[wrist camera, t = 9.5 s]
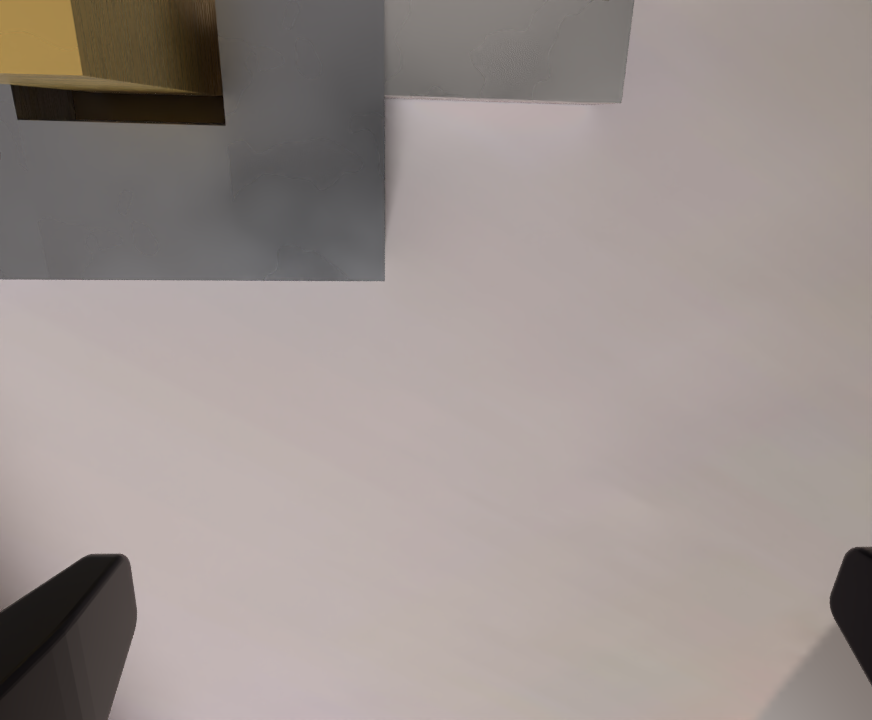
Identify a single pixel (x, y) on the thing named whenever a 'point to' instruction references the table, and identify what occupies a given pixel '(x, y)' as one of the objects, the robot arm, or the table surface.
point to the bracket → (281, 138)
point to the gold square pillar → (111, 46)
